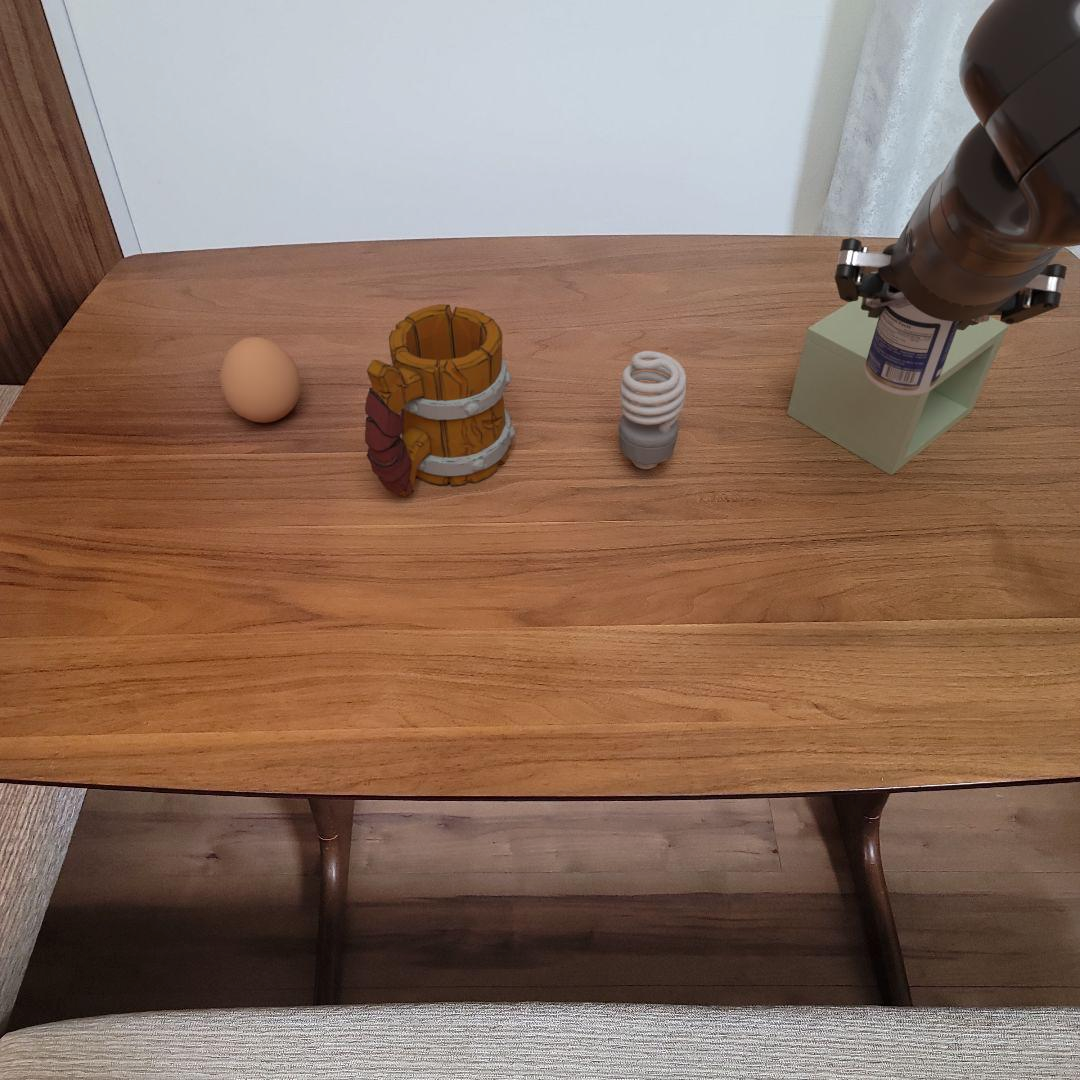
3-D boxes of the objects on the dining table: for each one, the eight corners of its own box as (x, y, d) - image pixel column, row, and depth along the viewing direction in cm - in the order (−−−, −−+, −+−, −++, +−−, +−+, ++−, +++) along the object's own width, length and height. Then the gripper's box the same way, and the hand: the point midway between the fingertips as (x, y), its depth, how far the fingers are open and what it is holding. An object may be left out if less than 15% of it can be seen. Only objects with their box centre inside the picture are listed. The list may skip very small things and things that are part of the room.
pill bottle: (906, 349, 73) (945, 234, 66) (951, 388, 69) (997, 270, 62) (848, 364, 71) (881, 248, 64) (891, 405, 68) (931, 286, 61)
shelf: (972, 411, 91) (1009, 325, 84) (891, 475, 85) (923, 388, 78) (869, 358, 98) (895, 273, 90) (786, 414, 91) (807, 327, 84)
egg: (295, 441, 89) (277, 368, 82) (221, 436, 89) (197, 363, 83) (316, 394, 94) (300, 321, 87) (245, 390, 94) (224, 317, 88)
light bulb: (602, 470, 86) (609, 363, 77) (635, 439, 89) (645, 332, 80) (654, 496, 83) (666, 388, 75) (686, 462, 86) (702, 355, 78)
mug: (536, 437, 89) (535, 300, 78) (430, 541, 80) (413, 402, 69) (446, 398, 93) (433, 264, 82) (336, 493, 84) (305, 355, 73)
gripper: (1132, 185, 50) (1031, 273, 67) (859, 155, 53) (827, 246, 69) (1102, 322, 50) (1009, 375, 67) (832, 285, 53) (807, 345, 70)
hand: (917, 309), depth 68 cm, fingers closed on pill bottle, 5 cm apart
